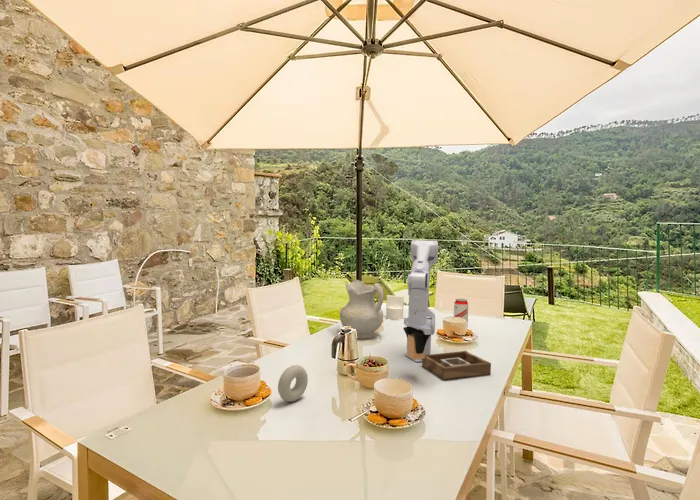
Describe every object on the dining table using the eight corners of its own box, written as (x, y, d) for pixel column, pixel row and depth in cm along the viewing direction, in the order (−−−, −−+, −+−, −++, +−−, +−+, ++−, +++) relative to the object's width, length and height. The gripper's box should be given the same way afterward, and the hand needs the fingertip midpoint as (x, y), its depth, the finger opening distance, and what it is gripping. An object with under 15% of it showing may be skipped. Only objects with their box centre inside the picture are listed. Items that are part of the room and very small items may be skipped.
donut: (283, 408, 110) (283, 371, 110) (274, 404, 112) (275, 368, 112) (310, 397, 118) (310, 362, 117) (301, 393, 120) (302, 359, 119)
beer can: (467, 336, 186) (469, 301, 185) (453, 335, 187) (454, 300, 186) (466, 333, 192) (467, 298, 191) (452, 332, 193) (454, 298, 192)
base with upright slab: (385, 319, 215) (385, 297, 215) (386, 316, 224) (387, 294, 223) (402, 320, 214) (403, 297, 213) (403, 317, 223) (404, 295, 222)
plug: (407, 355, 135) (408, 334, 134) (418, 354, 136) (418, 333, 136) (413, 359, 131) (414, 337, 131) (424, 358, 133) (425, 337, 132)
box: (421, 366, 145) (422, 355, 145) (465, 361, 151) (465, 350, 151) (444, 381, 132) (444, 368, 132) (490, 374, 138) (491, 363, 138)
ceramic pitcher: (394, 337, 185) (397, 282, 186) (373, 344, 169) (376, 283, 169) (353, 330, 197) (356, 278, 197) (330, 336, 180) (333, 279, 181)
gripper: (396, 305, 138) (395, 345, 139) (417, 315, 125) (416, 359, 125) (414, 304, 141) (413, 344, 141) (438, 313, 127) (436, 357, 128)
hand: (416, 351), depth 134 cm, fingers closed on plug, 4 cm apart
